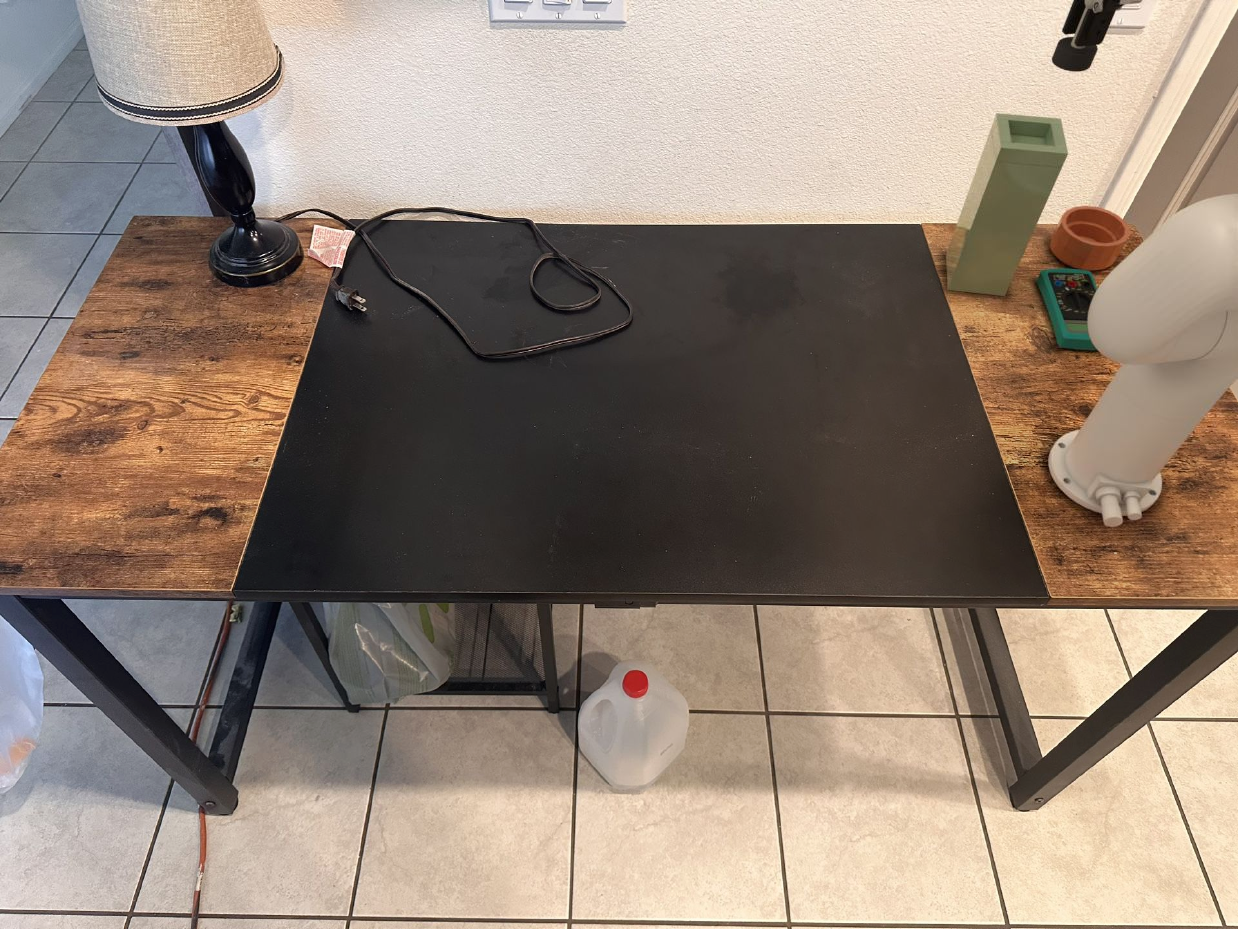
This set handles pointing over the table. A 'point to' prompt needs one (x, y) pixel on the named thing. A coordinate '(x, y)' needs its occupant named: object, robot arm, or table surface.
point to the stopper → (1074, 50)
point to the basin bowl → (1089, 238)
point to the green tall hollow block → (1005, 202)
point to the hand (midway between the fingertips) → (1081, 37)
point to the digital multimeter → (1069, 304)
